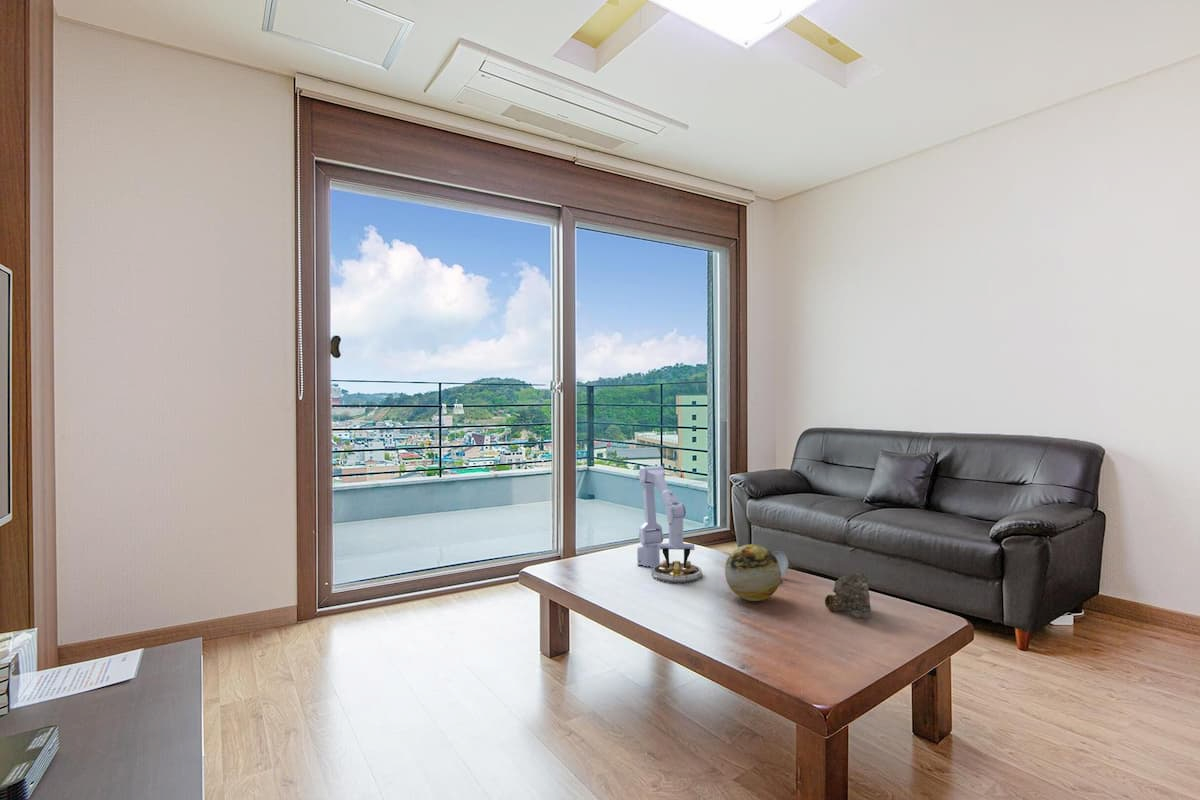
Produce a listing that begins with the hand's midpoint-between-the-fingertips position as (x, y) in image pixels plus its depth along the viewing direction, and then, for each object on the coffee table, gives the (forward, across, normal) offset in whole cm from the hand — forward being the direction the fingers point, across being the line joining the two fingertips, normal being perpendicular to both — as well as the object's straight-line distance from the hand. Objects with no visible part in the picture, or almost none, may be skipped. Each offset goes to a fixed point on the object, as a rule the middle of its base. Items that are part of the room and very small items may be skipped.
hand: (676, 567), depth 247 cm
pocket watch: (+5, +36, +2) cm, 37 cm away
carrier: (+5, 0, +5) cm, 7 cm away
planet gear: (+4, 0, 0) cm, 4 cm away
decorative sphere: (+5, +28, -22) cm, 36 cm away
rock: (+5, +58, -34) cm, 68 cm away
